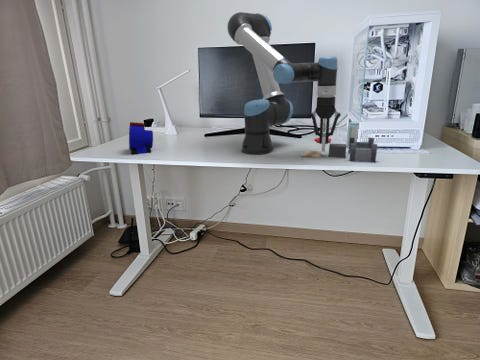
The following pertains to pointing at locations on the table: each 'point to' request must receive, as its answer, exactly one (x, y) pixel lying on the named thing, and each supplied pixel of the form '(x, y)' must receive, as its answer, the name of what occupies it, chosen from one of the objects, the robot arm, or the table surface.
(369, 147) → the housing
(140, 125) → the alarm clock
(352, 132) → the can
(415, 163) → the table surface
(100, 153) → the table surface
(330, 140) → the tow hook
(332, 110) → the robot arm
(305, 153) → the cork mat
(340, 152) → the plug
